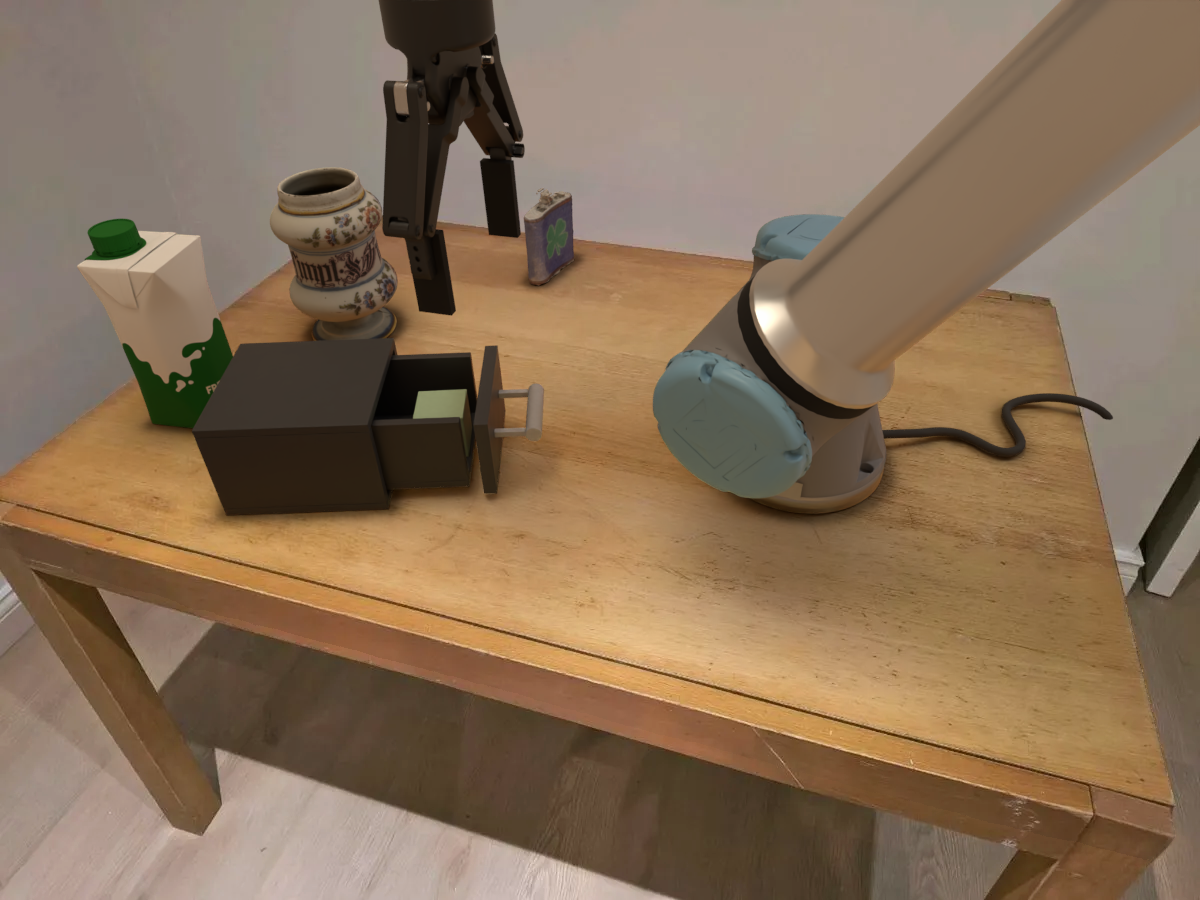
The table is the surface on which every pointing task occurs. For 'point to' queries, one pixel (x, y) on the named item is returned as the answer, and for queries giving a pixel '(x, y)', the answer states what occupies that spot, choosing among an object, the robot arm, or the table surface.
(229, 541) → the table surface
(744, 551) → the table surface
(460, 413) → the block
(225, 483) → the cabinet
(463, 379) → the drawer
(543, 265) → the flask
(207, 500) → the table surface
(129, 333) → the milk carton
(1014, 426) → the robot arm
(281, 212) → the apothecary jar
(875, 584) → the table surface
